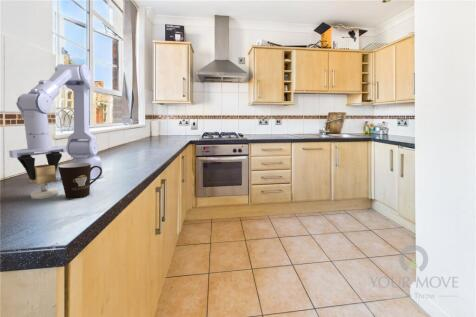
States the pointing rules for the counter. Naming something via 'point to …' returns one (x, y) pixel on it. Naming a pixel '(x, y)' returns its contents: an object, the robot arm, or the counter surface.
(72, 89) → the robot arm
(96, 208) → the counter surface
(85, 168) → the coffee mug
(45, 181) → the hollow wooden cube
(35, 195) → the lacing stand
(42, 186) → the silver metal cylinder
